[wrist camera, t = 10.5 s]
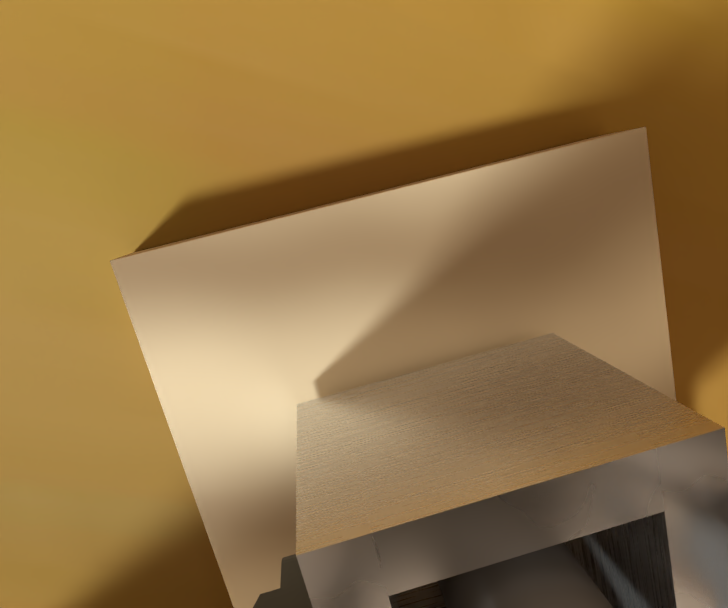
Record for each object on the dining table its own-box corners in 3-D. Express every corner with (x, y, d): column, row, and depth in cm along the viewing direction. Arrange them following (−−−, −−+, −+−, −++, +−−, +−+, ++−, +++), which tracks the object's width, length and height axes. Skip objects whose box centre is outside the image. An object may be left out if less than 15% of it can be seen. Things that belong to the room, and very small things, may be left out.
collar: (296, 404, 12) (295, 555, 7) (552, 332, 12) (724, 428, 7) (361, 623, 13) (399, 879, 8) (589, 552, 13) (754, 756, 9)
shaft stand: (132, 252, 12) (-264, 395, 4) (607, 133, 13) (1211, 18, 4) (290, 710, 16) (278, 1367, 7) (665, 592, 16) (1085, 1049, 8)
